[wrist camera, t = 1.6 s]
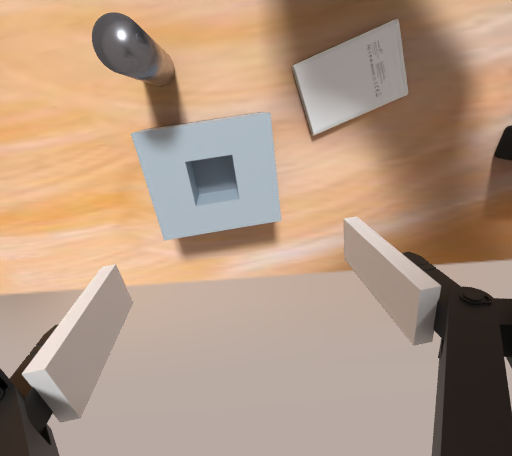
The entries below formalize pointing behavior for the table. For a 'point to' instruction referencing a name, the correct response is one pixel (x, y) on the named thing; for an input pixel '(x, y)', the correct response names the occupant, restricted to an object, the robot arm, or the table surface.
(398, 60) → the external hard drive
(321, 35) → the table surface
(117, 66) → the pin
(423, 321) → the robot arm
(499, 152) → the battery
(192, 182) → the socket block
